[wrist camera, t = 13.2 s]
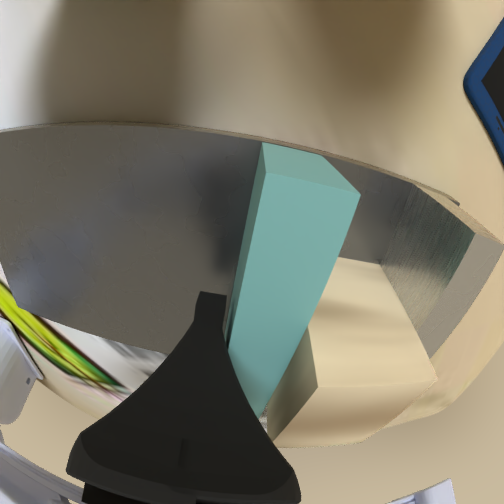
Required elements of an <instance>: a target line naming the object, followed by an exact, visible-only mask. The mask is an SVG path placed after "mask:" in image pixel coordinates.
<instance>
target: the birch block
mask: <svg viewBox="0 0 504 504" xmlns="http://www.w3.org/2000/svg"><path fill="white" fill-rule="evenodd" d="M437 380H438V378H437V376H436V373H435V371H434V369H433V366H432V364H431V362H430V360H429V357H428V355H427V353H426V351H425V349H424V347H423V344H422V342H421V340H420V338H419V336H418V334H417V332H416V330H415V328H414V326H413V324H412V322H411V320H410V318H409V316H408V315H407V313H406V311H405V309H404V307H403V305H402V303H401V301H400V300H399V298H398V296H397V294H396V292H395V291H394V289H393V287H392V285H391V284H390V282H389V280H388V278H387V277H386V275H385V273H384V271H383V270H382V268H381V266H380V265H379V264H374V263H368V262H363V261H357V260H352V259H346V258H341V257H338V258H337V260H336V262H335V265H334V267H333V270H332V272H331V275H330V277H329V279H328V282H327V284H326V286H325V289H324V291H323V293H322V296H321V298H320V300H319V302H318V304H317V307H316V309H315V311H314V313H313V315H312V318H311V320H310V322H309V324H308V326H307V328H306V330H305V332H304V334H303V336H302V338H301V340H300V342H299V345H298V347H297V349H296V351H295V353H294V355H293V356H292V358H291V360H290V362H289V364H288V366H287V368H286V370H285V372H284V374H283V376H282V378H281V380H280V381H279V383H278V385H277V387H276V389H275V391H274V392H273V394H272V396H271V398H270V400H269V401H268V403H267V434H268V436H269V437H270V439H271V440H272V442H273V443H274V445H275V446H276V448H301V447H324V446H336V445H345V444H354V443H361V442H363V441H364V440H365V439H367V438H369V437H370V436H371V435H373V434H374V433H376V432H377V431H378V430H380V429H381V428H382V427H384V426H385V425H386V424H388V423H389V422H390V421H392V420H393V419H394V418H395V417H397V416H398V415H399V414H400V413H402V412H403V411H404V410H405V409H406V408H408V407H409V406H410V405H411V404H412V403H413V402H414V401H416V400H417V399H418V398H419V397H420V396H421V395H422V394H423V393H424V392H426V391H427V390H428V389H429V388H430V387H431V386H432V385H433V384H434V383H435V382H436V381H437Z"/></svg>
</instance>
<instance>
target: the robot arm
mask: <svg viewBox="0 0 504 504" xmlns="http://www.w3.org/2000/svg"><path fill="white" fill-rule="evenodd" d="M226 301H227V295H222V294H216V293H210V292H204V291H200V292H199V295H198V298H197V302H196V305H195V313H194V321H193V322H192V324H191V326H190V327H189V329H188V330H187V332H186V333H185V335H184V336H183V337H182V339H181V340H180V341H179V343H178V344H177V345H176V347H175V348H174V349H173V351H172V352H171V353H170V354H169V356H168V357H167V358H166V359H165V360H164V362H163V363H162V364H161V365H160V366H159V367H158V368H157V369H156V371H155V372H154V373H153V374H152V375H151V376H150V377H149V378H148V379H147V380H146V381H145V382H144V383H143V384H142V385H141V386H140V387H139V388H138V389H137V390H136V391H135V392H133V393H132V394H131V395H130V396H129V397H128V398H126V399H125V400H124V401H123V402H122V403H120V404H119V405H118V406H117V407H116V408H114V409H113V410H112V411H111V412H109V413H108V414H107V415H105V416H104V417H103V418H101V419H100V420H98V421H97V422H95V423H94V424H92V425H91V426H89V427H88V428H86V429H85V430H84V431H82V432H81V433H80V434H79V436H78V438H77V440H76V441H75V443H74V446H73V448H72V450H71V452H70V456H69V459H68V463H67V467H66V472H67V474H68V475H70V476H72V477H74V478H76V479H79V480H81V481H83V482H85V485H84V489H83V488H81V487H79V486H76V485H74V484H72V483H70V482H68V481H66V480H63V479H61V478H60V477H57V476H56V475H54V474H52V473H50V472H48V471H46V470H44V469H43V468H41V467H39V466H37V465H36V464H34V463H32V462H31V461H29V460H27V459H26V458H24V457H23V456H21V455H19V454H18V453H17V452H15V451H14V450H12V449H11V448H9V447H8V446H6V445H5V444H4V439H3V436H2V433H1V430H0V504H71V503H69V501H68V499H70V500H72V501H75V502H77V503H79V504H298V503H299V502H301V492H300V487H299V484H298V480H297V477H296V475H295V472H294V470H293V468H292V467H291V465H290V464H289V463H288V462H287V461H286V459H285V458H284V457H283V456H282V454H281V453H280V452H279V450H278V449H277V448H276V446H275V445H274V443H273V442H272V440H271V439H270V437H269V436H268V434H267V433H266V431H265V430H264V428H263V427H262V425H261V423H260V422H259V420H258V418H257V416H256V415H255V413H254V411H253V409H252V408H251V406H250V404H249V402H248V400H247V398H246V396H245V394H244V392H243V390H242V387H241V385H240V383H239V380H238V378H237V376H236V373H235V370H234V368H233V365H232V362H231V359H230V356H229V353H228V349H227V346H226V342H225V338H224V334H223V330H222V328H223V322H224V316H225V310H226ZM36 378H39V379H41V380H42V379H43V375H42V374H41V372H40V371H39V370H38V368H37V367H36V365H35V364H34V362H33V360H32V359H31V357H30V356H29V354H28V352H27V351H26V349H25V348H24V346H23V344H22V342H21V341H20V339H19V337H18V335H17V334H16V332H15V330H14V328H13V326H12V325H11V323H10V322H9V321H7V320H5V319H3V318H1V317H0V423H1V424H11V423H13V422H14V421H15V420H16V419H17V418H18V417H19V415H20V413H21V411H22V409H23V406H24V404H25V402H26V400H27V397H28V395H29V393H30V391H31V388H32V386H33V384H34V382H35V380H36ZM386 504H456V503H455V496H454V491H453V486H452V481H451V479H450V478H449V479H446V480H444V481H442V482H440V483H437V484H435V485H433V486H431V487H429V488H426V489H424V490H421V491H418V492H415V493H413V494H410V495H407V496H405V497H402V498H399V499H396V500H393V501H392V502H389V503H386Z"/></svg>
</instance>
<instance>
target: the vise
mask: <svg viewBox="0 0 504 504" xmlns="http://www.w3.org/2000/svg"><path fill="white" fill-rule="evenodd" d="M262 142H264V143H269V144H274V145H279V146H284V147H288V148H293V149H297V150H302V151H306V152H310V153H314V154H318V155H322V156H323V157H324V158H325V159H326V160H327V161H328V162H329V163H330V164H331V165H332V166H333V167H334V168H335V169H336V170H337V171H338V172H339V173H340V174H341V175H342V176H343V177H344V178H345V179H346V180H347V181H348V182H349V183H350V184H351V185H352V186H353V187H354V188H355V189H356V190H357V191H358V192H359V193H360V194H361V196H360V199H359V201H358V204H357V207H356V210H355V213H354V216H353V218H352V221H351V224H350V227H349V229H348V232H347V235H346V237H345V240H344V242H343V245H342V247H341V250H340V253H339V255H338V257H341V258H346V259H352V260H357V261H363V262H368V263H374V264H379V265H380V266H381V268H382V270H383V271H384V273H385V275H386V277H387V278H388V280H389V282H390V284H391V285H392V287H393V289H394V291H395V292H396V294H397V296H398V298H399V300H400V301H401V303H402V305H403V307H404V309H405V311H406V313H407V315H408V316H409V318H410V320H411V322H412V324H413V326H414V328H415V330H416V332H417V334H418V336H419V338H420V340H421V342H422V344H423V347H424V349H425V351H426V353H427V355H428V357H429V359H430V358H431V357H432V356H433V355H434V354H435V352H436V351H437V350H438V349H439V348H440V346H441V345H442V344H443V343H444V342H445V340H446V339H447V338H448V337H449V335H450V334H451V333H452V331H453V330H454V329H455V327H456V326H457V325H458V323H459V322H460V321H461V319H462V318H463V317H464V315H465V314H466V312H467V311H468V309H469V308H470V306H471V305H472V303H473V302H474V300H475V299H476V297H477V296H478V294H479V293H480V291H481V289H482V288H483V286H484V285H485V283H486V281H487V280H488V278H489V276H490V274H491V273H492V271H493V269H494V267H495V265H496V264H497V262H498V260H499V258H500V256H501V254H502V252H503V250H504V244H503V243H502V242H501V241H500V240H499V239H497V238H496V237H495V236H494V235H493V234H492V233H491V232H490V231H488V230H487V229H486V228H485V227H484V226H483V225H481V224H480V223H479V222H478V221H477V220H475V219H474V218H473V217H472V216H470V215H469V214H468V213H467V212H465V211H464V210H463V209H461V208H460V207H459V205H460V203H459V202H457V201H456V200H455V199H453V198H452V197H451V196H449V195H447V194H445V193H443V192H441V191H438V190H436V189H433V188H431V187H429V186H426V185H424V184H421V183H419V182H416V181H414V180H411V179H409V178H406V177H403V176H400V175H398V174H395V173H392V172H389V171H387V170H384V169H381V168H378V167H375V166H372V165H369V164H366V163H362V162H359V161H356V160H353V159H349V158H346V157H342V156H339V155H335V154H332V153H328V152H324V151H321V150H317V149H313V148H309V147H305V146H300V145H296V144H292V143H287V142H283V141H278V140H273V139H268V138H263V137H258V136H252V135H247V134H241V133H235V132H228V131H222V130H214V129H207V128H199V127H190V126H180V125H169V124H155V123H136V122H72V123H55V124H43V125H32V126H24V127H16V128H9V129H3V130H0V262H1V265H2V268H3V271H4V273H5V276H6V279H7V282H8V284H9V287H10V289H11V292H12V294H13V297H14V299H15V301H16V304H17V306H18V307H19V308H22V309H24V310H26V311H29V312H31V313H34V314H36V315H39V316H41V317H44V318H46V319H49V320H51V321H54V322H57V323H60V324H62V325H65V326H68V327H71V328H74V329H77V330H80V331H83V332H86V333H89V334H92V335H96V336H99V337H102V338H106V339H109V340H113V341H116V342H120V343H124V344H128V345H131V346H135V347H139V348H144V349H148V350H152V351H157V352H161V353H166V354H170V353H171V352H172V351H173V349H174V348H175V347H176V345H177V344H178V343H179V341H180V340H181V339H182V337H183V336H184V335H185V333H186V332H187V330H188V329H189V327H190V326H191V324H192V322H193V321H194V313H195V305H196V302H197V298H198V295H199V292H200V291H204V292H210V293H216V294H222V295H227V301H226V310H225V316H224V322H223V328H222V330H223V334H224V335H225V329H226V324H227V319H228V313H229V308H230V303H231V297H232V292H233V287H234V281H235V276H236V271H237V266H238V261H239V255H240V250H241V245H242V240H243V235H244V230H245V225H246V220H247V215H248V209H249V204H250V199H251V194H252V190H253V185H254V180H255V175H256V170H257V165H258V160H259V155H260V150H261V145H262Z"/></svg>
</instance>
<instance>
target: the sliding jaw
mask: <svg viewBox="0 0 504 504" xmlns="http://www.w3.org/2000/svg"><path fill="white" fill-rule="evenodd" d="M360 196H361V194H360V193H359V192H358V191H357V190H356V189H355V188H354V187H353V186H352V185H351V184H350V183H349V182H348V181H347V180H346V179H345V178H344V177H343V176H342V175H341V174H340V173H339V172H338V171H337V170H336V169H335V168H334V167H333V166H332V165H331V164H330V163H329V162H328V161H327V160H326V159H325V158H324V157H323V156H322V155H318V154H314V153H310V152H306V151H302V150H297V149H293V148H288V147H284V146H279V145H274V144H269V143H264V142H262V145H261V150H260V155H259V160H258V165H257V170H256V175H255V180H254V185H253V190H252V194H251V199H250V204H249V209H248V215H247V220H246V225H245V230H244V235H243V240H242V245H241V250H240V255H239V261H238V266H237V271H236V276H235V281H234V287H233V292H232V297H231V303H230V308H229V313H228V319H227V324H226V329H225V335H224V338H225V342H226V346H227V349H228V353H229V356H230V359H231V362H232V365H233V368H234V370H235V373H236V376H237V378H238V380H239V383H240V385H241V387H242V390H243V392H244V394H245V396H246V398H247V400H248V402H249V404H250V406H251V408H252V409H253V411H254V413H255V415H256V416H257V418H258V419H259V417H260V415H261V414H262V412H263V410H264V409H265V407H266V405H267V403H268V401H269V400H270V398H271V396H272V394H273V392H274V391H275V389H276V387H277V385H278V383H279V381H280V380H281V378H282V376H283V374H284V372H285V370H286V368H287V366H288V364H289V362H290V360H291V358H292V356H293V355H294V353H295V351H296V349H297V347H298V345H299V342H300V340H301V338H302V336H303V334H304V332H305V330H306V328H307V326H308V324H309V322H310V320H311V318H312V315H313V313H314V311H315V309H316V307H317V304H318V302H319V300H320V298H321V296H322V293H323V291H324V289H325V286H326V284H327V282H328V279H329V277H330V275H331V272H332V270H333V267H334V265H335V262H336V260H337V258H338V255H339V253H340V250H341V247H342V245H343V242H344V240H345V237H346V235H347V232H348V229H349V227H350V224H351V221H352V218H353V216H354V213H355V210H356V207H357V204H358V201H359V199H360Z"/></svg>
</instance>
